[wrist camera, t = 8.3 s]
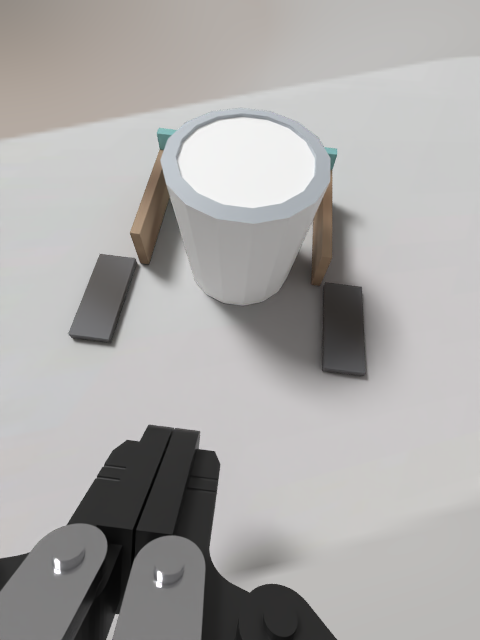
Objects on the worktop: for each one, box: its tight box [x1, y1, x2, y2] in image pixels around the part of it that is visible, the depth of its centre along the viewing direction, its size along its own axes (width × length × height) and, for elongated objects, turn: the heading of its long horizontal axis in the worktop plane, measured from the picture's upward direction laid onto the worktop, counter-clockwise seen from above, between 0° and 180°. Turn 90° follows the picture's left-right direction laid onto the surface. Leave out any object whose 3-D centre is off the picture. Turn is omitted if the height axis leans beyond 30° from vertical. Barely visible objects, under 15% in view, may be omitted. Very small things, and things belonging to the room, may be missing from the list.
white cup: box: [160, 108, 331, 306], centre depth 17 cm, size 7×7×7 cm
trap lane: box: [68, 149, 366, 376], centre depth 19 cm, size 12×15×2 cm
